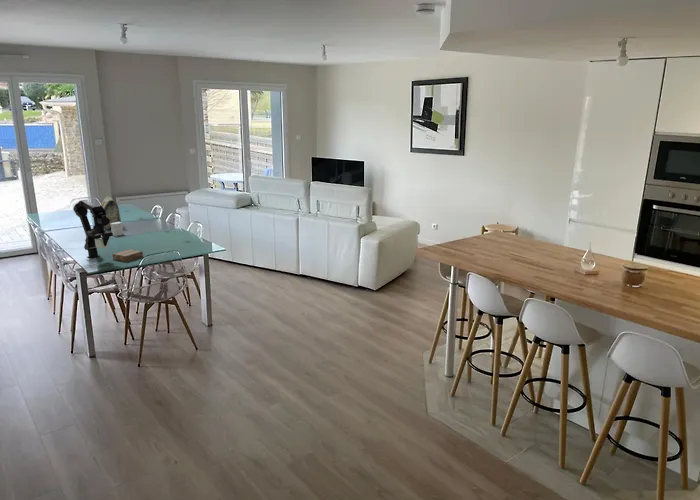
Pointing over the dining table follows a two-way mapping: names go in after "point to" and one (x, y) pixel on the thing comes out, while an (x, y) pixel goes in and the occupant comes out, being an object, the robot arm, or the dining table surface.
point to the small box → (117, 228)
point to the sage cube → (100, 243)
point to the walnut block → (127, 255)
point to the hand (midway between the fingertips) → (102, 245)
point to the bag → (111, 211)
